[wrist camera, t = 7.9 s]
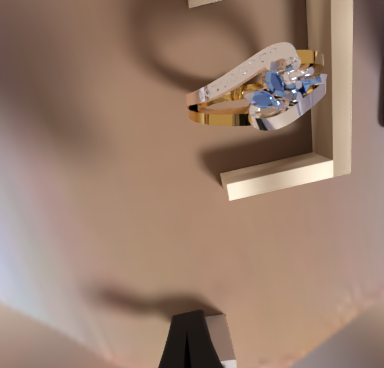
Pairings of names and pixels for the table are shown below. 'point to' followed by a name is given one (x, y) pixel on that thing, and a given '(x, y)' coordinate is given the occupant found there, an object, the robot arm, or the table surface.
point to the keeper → (312, 110)
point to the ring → (264, 89)
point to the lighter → (221, 340)
